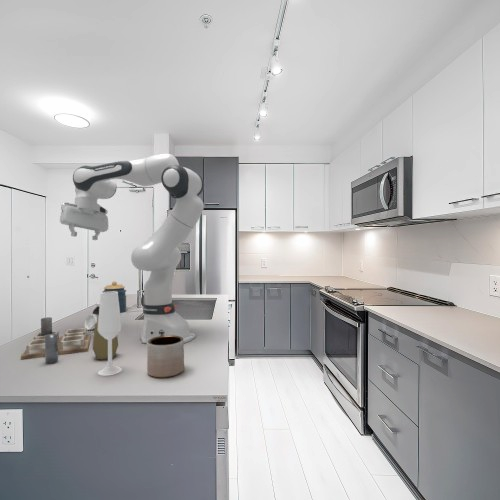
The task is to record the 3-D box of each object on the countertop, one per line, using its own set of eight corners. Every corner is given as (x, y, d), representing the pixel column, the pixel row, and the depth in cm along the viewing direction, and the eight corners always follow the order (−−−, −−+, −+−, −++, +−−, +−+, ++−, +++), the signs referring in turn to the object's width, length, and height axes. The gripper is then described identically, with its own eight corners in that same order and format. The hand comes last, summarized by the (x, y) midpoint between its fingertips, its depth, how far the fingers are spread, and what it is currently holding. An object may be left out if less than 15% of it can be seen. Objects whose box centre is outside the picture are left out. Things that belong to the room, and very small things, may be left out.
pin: (60, 361, 106) (60, 334, 105) (50, 364, 102) (50, 337, 102) (53, 359, 107) (52, 333, 107) (42, 363, 103) (42, 335, 103)
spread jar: (119, 325, 153) (118, 301, 153) (106, 331, 142) (105, 305, 142) (95, 324, 154) (95, 300, 154) (80, 330, 143) (80, 305, 143)
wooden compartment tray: (90, 336, 133) (90, 312, 133) (87, 351, 115) (87, 323, 115) (34, 343, 125) (33, 317, 125) (20, 359, 107) (20, 329, 107)
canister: (97, 313, 180) (97, 282, 180) (111, 309, 193) (110, 279, 192) (118, 314, 178) (118, 282, 177) (130, 309, 190) (130, 280, 190)
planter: (184, 377, 92) (184, 344, 92) (145, 380, 90) (145, 346, 90) (184, 363, 103) (183, 334, 103) (149, 366, 101) (148, 336, 101)
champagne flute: (124, 372, 96) (123, 293, 95) (99, 377, 92) (98, 294, 92) (119, 365, 101) (118, 290, 101) (96, 369, 98) (95, 292, 97)
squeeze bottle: (93, 362, 104) (92, 307, 103) (92, 355, 111) (91, 303, 111) (119, 358, 107) (119, 305, 107) (117, 351, 115) (116, 301, 114)
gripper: (66, 199, 129) (64, 232, 126) (110, 211, 146) (110, 240, 143) (57, 202, 132) (55, 235, 129) (102, 214, 149) (101, 242, 147)
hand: (84, 238), depth 136 cm, fingers open, 8 cm apart
